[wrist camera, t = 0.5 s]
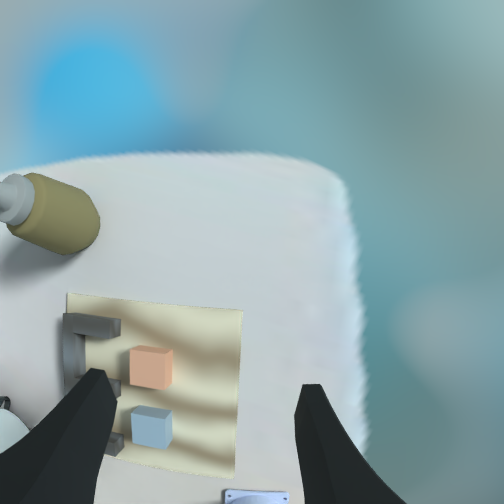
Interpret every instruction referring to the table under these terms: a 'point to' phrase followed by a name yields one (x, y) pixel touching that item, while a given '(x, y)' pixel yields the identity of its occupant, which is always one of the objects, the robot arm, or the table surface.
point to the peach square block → (151, 367)
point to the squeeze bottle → (48, 213)
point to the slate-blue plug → (152, 426)
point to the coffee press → (10, 426)
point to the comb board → (183, 376)
